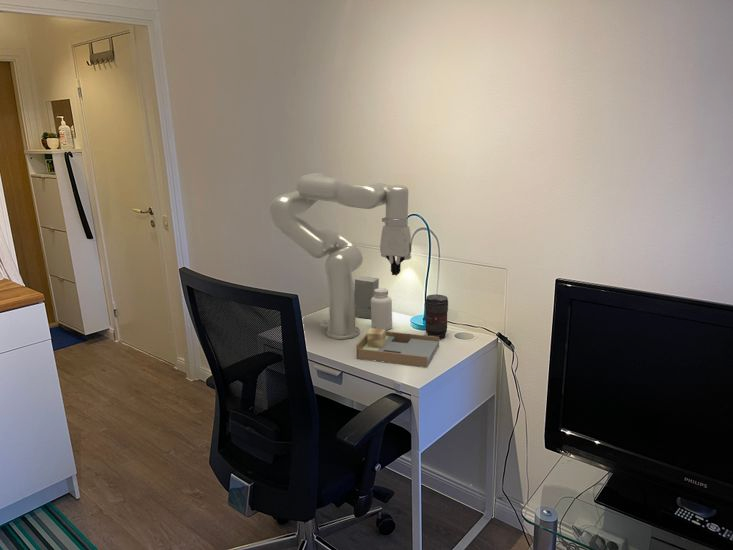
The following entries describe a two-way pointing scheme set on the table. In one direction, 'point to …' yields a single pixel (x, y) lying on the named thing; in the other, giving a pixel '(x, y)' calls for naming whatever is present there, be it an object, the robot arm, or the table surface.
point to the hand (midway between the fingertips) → (395, 274)
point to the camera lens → (436, 315)
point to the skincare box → (364, 295)
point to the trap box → (400, 349)
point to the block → (376, 338)
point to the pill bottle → (381, 309)
